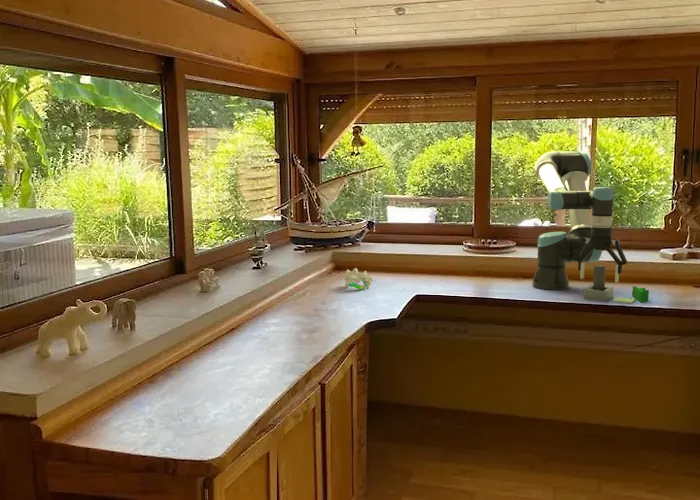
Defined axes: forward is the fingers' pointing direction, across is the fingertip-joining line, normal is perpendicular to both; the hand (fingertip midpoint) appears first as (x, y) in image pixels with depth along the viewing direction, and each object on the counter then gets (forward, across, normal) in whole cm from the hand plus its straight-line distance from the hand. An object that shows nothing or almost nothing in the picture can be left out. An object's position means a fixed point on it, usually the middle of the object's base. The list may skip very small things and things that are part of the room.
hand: (599, 280), depth 280 cm
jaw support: (+8, -92, -36) cm, 100 cm away
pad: (+7, +10, 0) cm, 12 cm away
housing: (+7, 0, 0) cm, 7 cm away
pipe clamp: (+8, +15, +6) cm, 18 cm away
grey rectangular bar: (+7, 0, 0) cm, 7 cm away
